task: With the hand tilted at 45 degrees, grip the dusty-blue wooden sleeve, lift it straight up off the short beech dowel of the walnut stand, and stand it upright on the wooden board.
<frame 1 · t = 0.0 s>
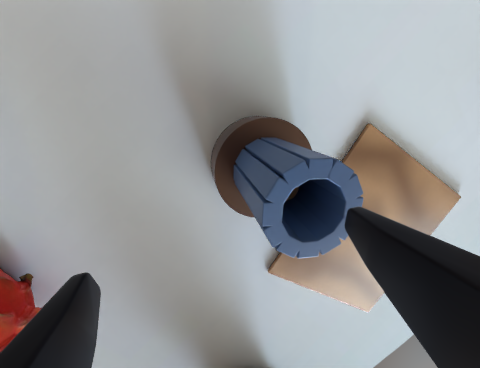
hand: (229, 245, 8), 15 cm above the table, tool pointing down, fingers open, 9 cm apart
stand: (255, 162, 24), on the table
sleeve: (266, 171, 20), point 3 cm above the table, touching stand
wooden board: (366, 231, 30), on the table
dragon fruit: (1, 286, 23), on the table
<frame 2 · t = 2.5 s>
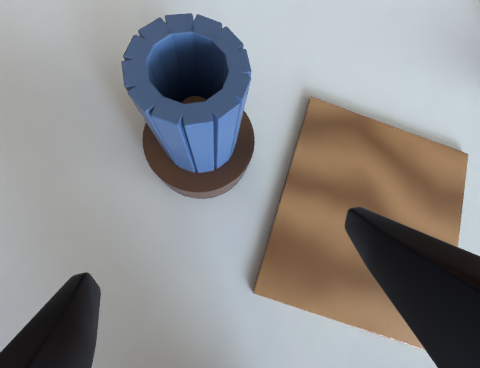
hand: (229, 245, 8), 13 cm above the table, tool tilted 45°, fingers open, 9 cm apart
stand: (202, 152, 23), on the table
sleeve: (199, 137, 19), point 3 cm above the table, touching stand
wooden board: (370, 216, 23), on the table
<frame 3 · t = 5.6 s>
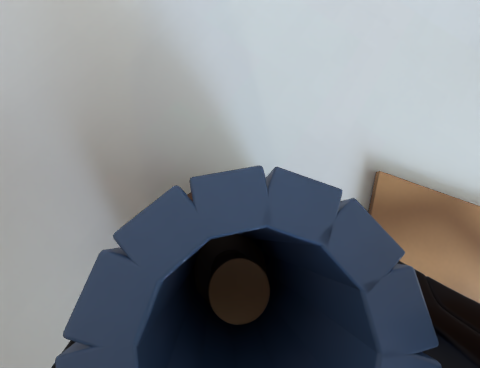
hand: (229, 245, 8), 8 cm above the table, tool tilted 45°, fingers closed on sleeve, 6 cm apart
stand: (227, 262, 15), on the table
sleeve: (230, 270, 12), point 4 cm above the table, touching gripper, stand
wooden board: (475, 354, 16), on the table
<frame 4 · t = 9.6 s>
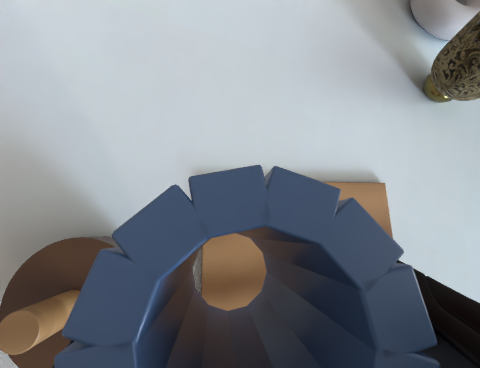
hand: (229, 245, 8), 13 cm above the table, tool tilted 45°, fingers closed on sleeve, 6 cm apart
stand: (97, 292, 19), on the table
sleeve: (229, 269, 12), point 9 cm above the table, touching gripper
wooden board: (303, 292, 21), on the table
donut: (439, 15, 30), on the table
cup: (433, 91, 27), on the table
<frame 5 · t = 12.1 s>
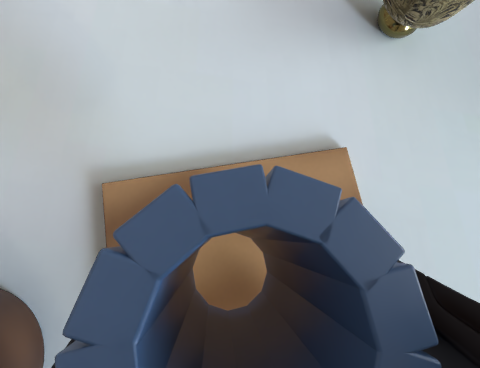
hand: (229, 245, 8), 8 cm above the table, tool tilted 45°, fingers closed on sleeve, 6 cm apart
sleeve: (230, 269, 12), point 4 cm above the table, touching gripper
wooden board: (258, 309, 16), on the table
cup: (390, 27, 22), on the table
when the fingers open (4 cm above the table, at t = 13.8 s): sleeve stays where it is, resting on wooden board.
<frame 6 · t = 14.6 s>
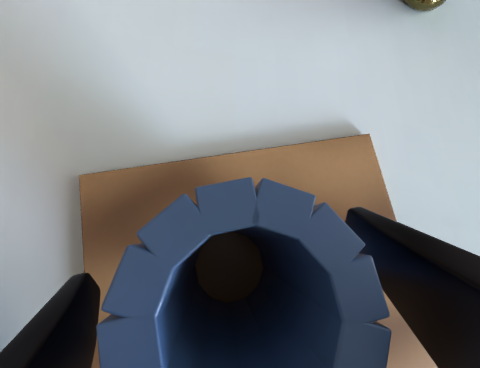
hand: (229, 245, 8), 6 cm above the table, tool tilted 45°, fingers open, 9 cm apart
sleeve: (229, 265, 13), resting on wooden board
wooden board: (268, 326, 13), on the table
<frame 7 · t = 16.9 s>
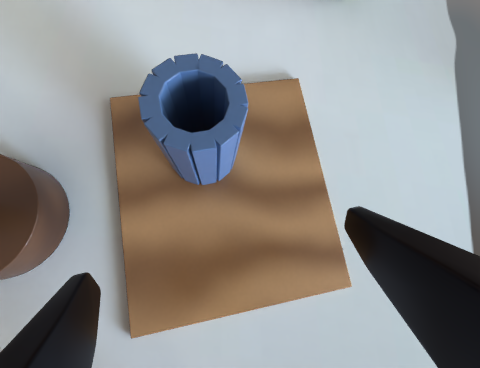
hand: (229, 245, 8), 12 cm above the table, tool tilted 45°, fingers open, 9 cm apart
stand: (8, 219, 19), on the table
sleeve: (203, 152, 21), resting on wooden board
wooden board: (226, 189, 21), on the table
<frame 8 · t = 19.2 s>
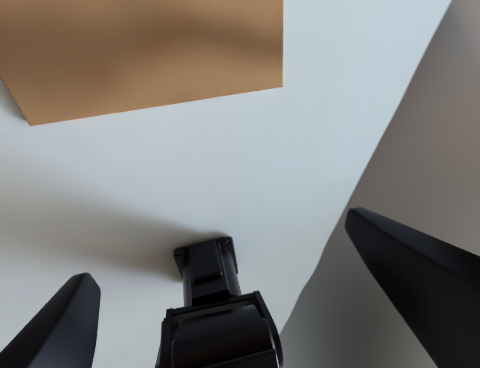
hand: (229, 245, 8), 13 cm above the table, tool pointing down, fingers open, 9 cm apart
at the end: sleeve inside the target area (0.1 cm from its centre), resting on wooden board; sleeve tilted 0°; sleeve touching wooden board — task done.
